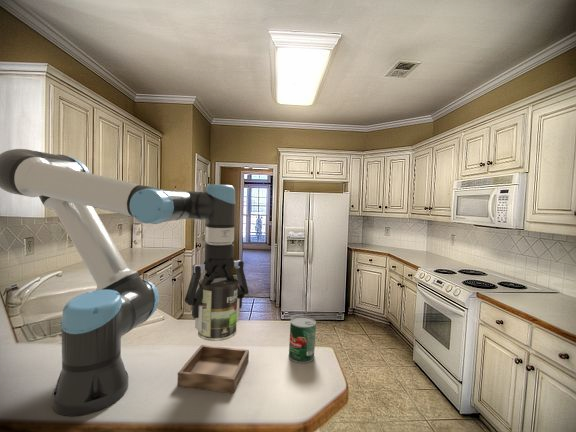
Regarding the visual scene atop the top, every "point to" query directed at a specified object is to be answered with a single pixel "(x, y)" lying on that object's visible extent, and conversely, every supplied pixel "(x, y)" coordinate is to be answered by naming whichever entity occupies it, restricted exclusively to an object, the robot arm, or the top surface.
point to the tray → (214, 369)
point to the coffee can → (219, 309)
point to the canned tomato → (302, 339)
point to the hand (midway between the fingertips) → (217, 324)
